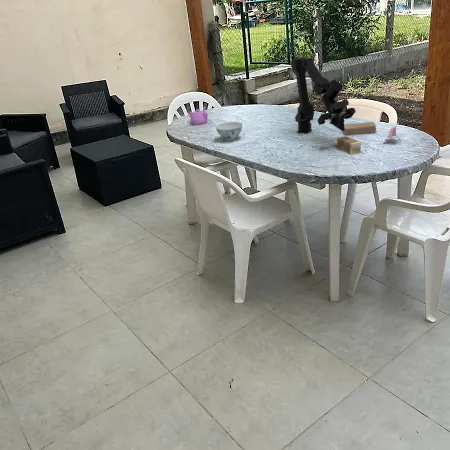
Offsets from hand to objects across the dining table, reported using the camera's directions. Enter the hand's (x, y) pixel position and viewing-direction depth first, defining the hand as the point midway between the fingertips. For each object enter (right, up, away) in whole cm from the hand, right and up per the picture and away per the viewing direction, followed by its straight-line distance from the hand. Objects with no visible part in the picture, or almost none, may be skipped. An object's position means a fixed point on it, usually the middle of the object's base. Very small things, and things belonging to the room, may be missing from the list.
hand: (343, 130), depth 215 cm
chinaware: (-54, +3, +39) cm, 67 cm away
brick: (+15, +4, +24) cm, 28 cm away
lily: (+25, -5, +5) cm, 26 cm away
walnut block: (0, -5, +4) cm, 6 cm away
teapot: (-74, +22, +79) cm, 111 cm away
